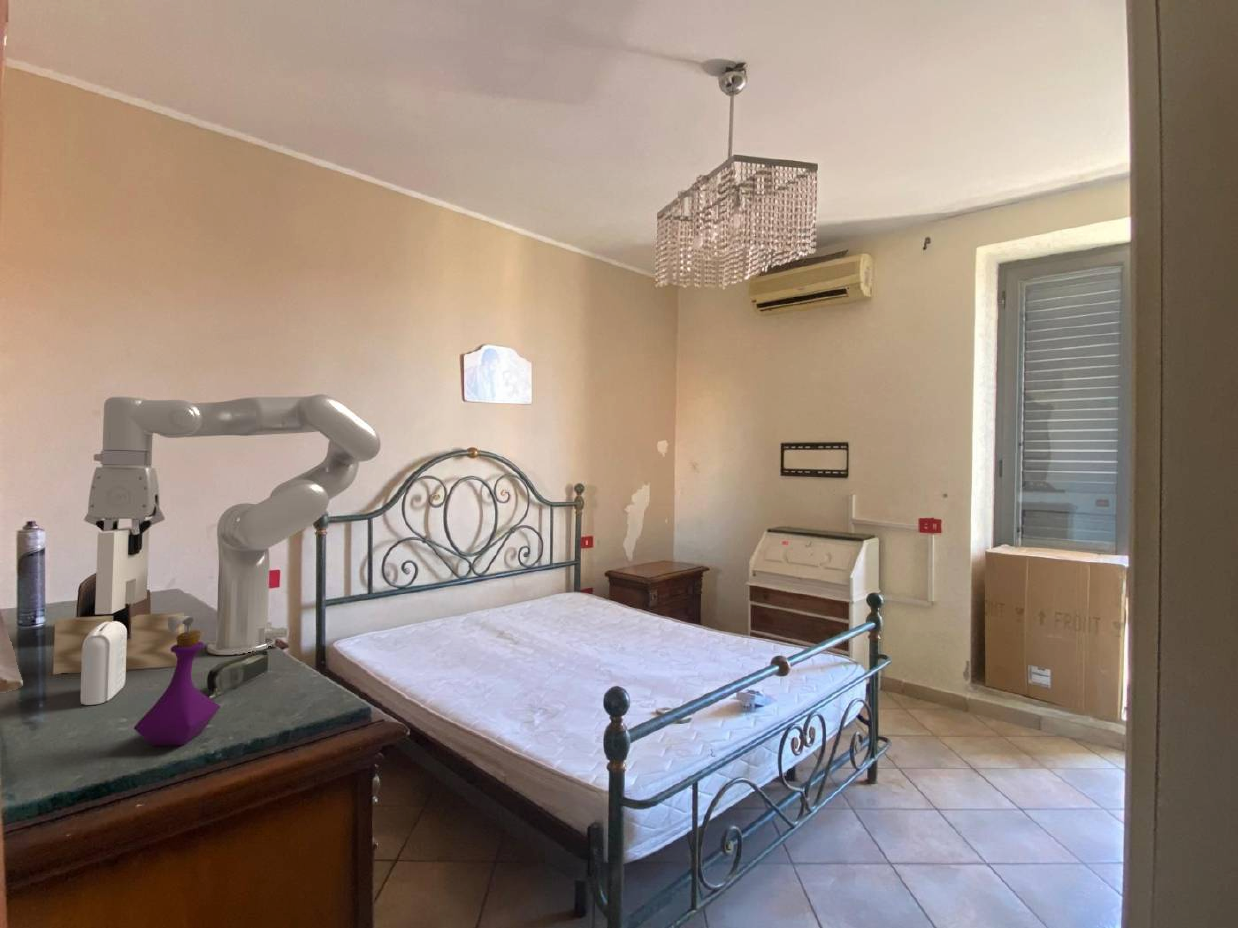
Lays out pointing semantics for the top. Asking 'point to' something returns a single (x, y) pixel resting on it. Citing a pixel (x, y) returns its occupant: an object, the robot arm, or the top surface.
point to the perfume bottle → (179, 697)
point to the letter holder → (123, 616)
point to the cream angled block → (120, 571)
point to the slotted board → (141, 650)
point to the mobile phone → (236, 672)
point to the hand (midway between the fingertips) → (124, 553)
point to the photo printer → (103, 663)
